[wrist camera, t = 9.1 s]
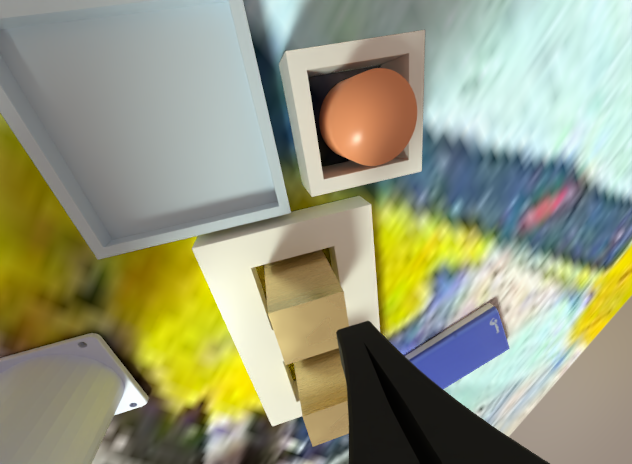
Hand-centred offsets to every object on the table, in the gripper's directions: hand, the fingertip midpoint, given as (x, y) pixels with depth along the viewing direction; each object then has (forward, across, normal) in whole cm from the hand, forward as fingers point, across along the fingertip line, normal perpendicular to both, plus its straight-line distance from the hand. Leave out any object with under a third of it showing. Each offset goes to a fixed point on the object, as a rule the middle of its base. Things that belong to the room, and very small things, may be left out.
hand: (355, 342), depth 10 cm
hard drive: (+10, -13, +18) cm, 25 cm away
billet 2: (+9, +1, +12) cm, 15 cm away
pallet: (+9, +1, +7) cm, 12 cm away
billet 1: (+9, +1, +2) cm, 10 cm away
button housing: (+9, -4, -8) cm, 12 cm away
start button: (+8, -4, -8) cm, 11 cm away
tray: (+9, +6, -8) cm, 14 cm away
